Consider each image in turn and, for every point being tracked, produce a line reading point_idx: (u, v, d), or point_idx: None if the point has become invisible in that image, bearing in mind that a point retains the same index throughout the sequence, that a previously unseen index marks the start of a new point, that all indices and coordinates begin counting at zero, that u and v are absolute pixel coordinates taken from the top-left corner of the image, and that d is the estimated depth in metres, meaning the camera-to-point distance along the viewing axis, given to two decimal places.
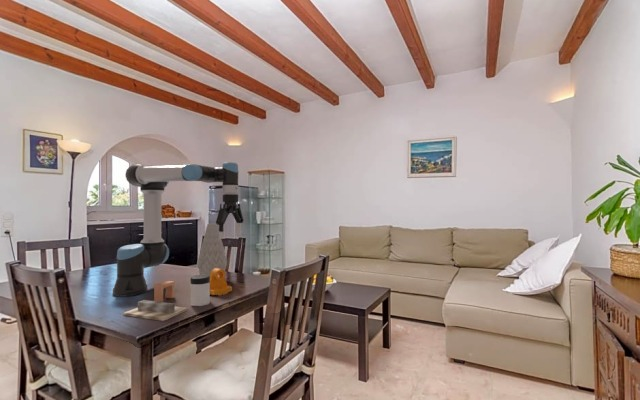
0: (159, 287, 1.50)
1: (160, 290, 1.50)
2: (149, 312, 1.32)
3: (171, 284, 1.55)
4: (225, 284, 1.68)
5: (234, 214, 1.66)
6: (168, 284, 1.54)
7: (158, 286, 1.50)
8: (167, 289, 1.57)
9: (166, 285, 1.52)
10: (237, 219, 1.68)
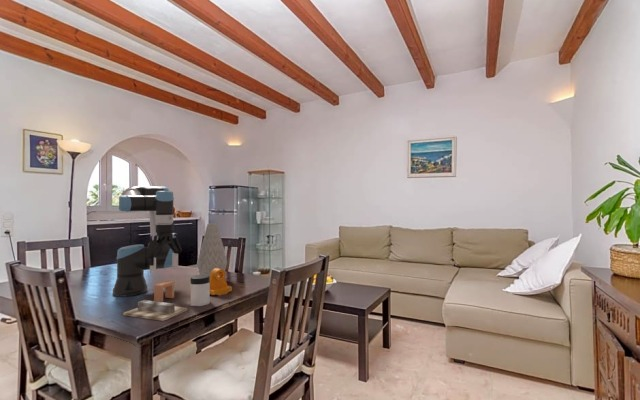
0: (159, 287, 1.50)
1: (160, 290, 1.50)
2: (149, 312, 1.32)
3: (171, 284, 1.55)
4: (225, 284, 1.68)
5: (170, 245, 1.57)
6: (168, 284, 1.54)
7: (158, 286, 1.50)
8: (167, 289, 1.57)
9: (166, 285, 1.52)
10: (174, 249, 1.59)
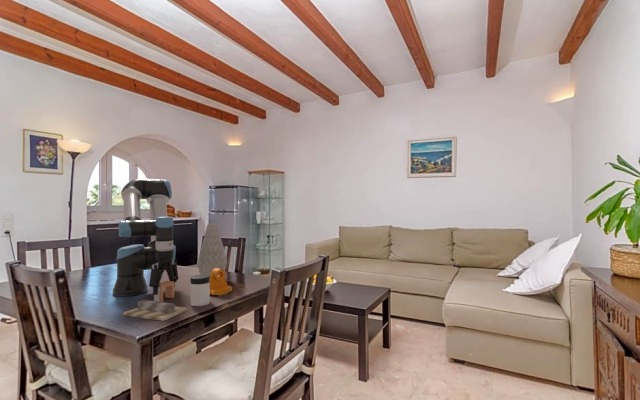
0: None
1: (160, 290, 1.50)
2: (149, 312, 1.32)
3: (171, 284, 1.55)
4: (225, 284, 1.68)
5: (168, 271, 1.56)
6: (168, 284, 1.54)
7: None
8: (167, 289, 1.57)
9: (166, 285, 1.52)
10: (171, 277, 1.57)
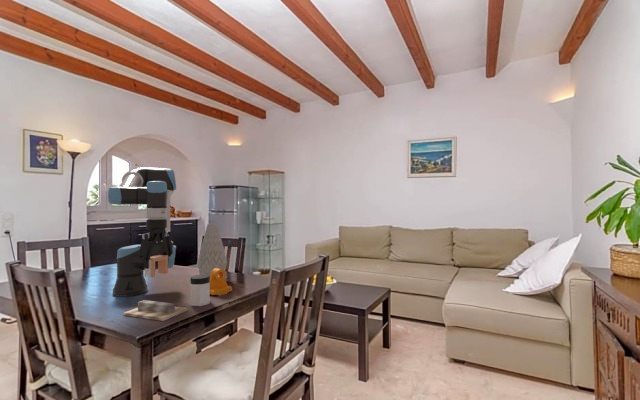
0: None
1: (152, 263, 1.31)
2: (149, 312, 1.32)
3: (164, 258, 1.37)
4: (225, 284, 1.68)
5: (161, 244, 1.38)
6: (161, 257, 1.35)
7: None
8: (160, 264, 1.38)
9: (158, 258, 1.34)
10: (164, 251, 1.39)
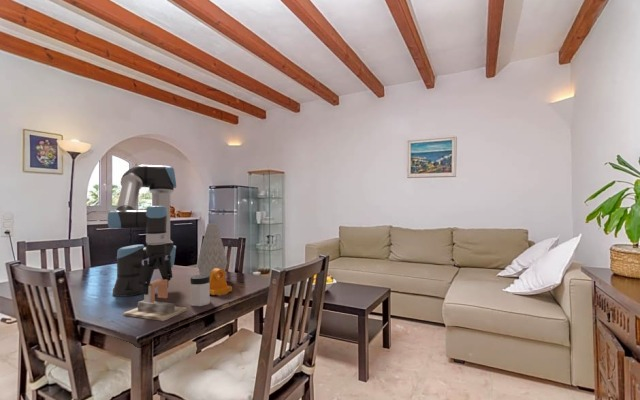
0: None
1: (151, 289, 1.31)
2: (149, 312, 1.32)
3: (164, 282, 1.37)
4: (225, 284, 1.68)
5: (160, 268, 1.38)
6: (160, 282, 1.35)
7: (149, 285, 1.31)
8: (159, 288, 1.38)
9: (158, 284, 1.34)
10: (163, 275, 1.39)
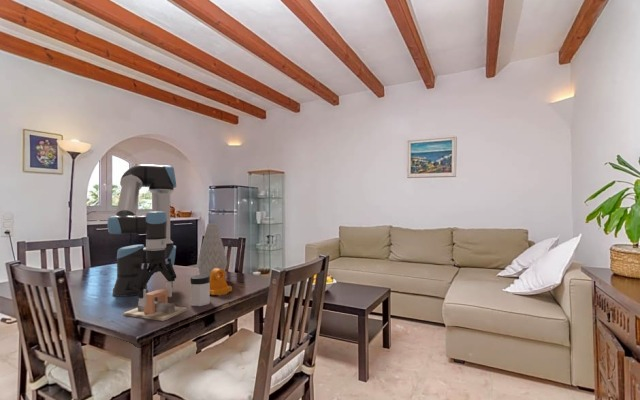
0: (150, 297, 1.31)
1: (151, 300, 1.31)
2: None
3: (164, 293, 1.37)
4: (225, 284, 1.68)
5: (162, 272, 1.39)
6: (160, 293, 1.35)
7: (149, 295, 1.31)
8: (159, 298, 1.38)
9: (158, 294, 1.34)
10: (167, 277, 1.41)
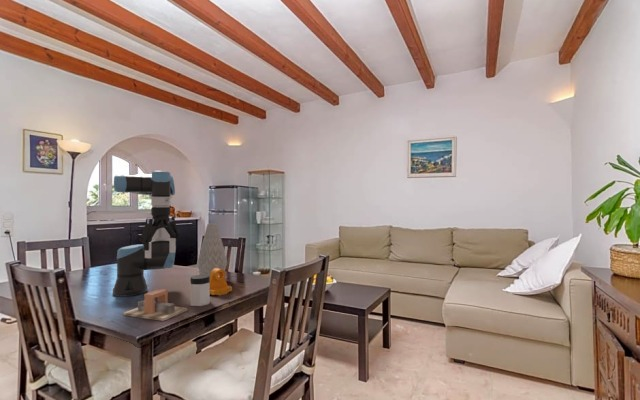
0: (150, 297, 1.31)
1: (151, 300, 1.31)
2: None
3: (164, 293, 1.37)
4: (225, 284, 1.68)
5: (167, 229, 1.47)
6: (160, 293, 1.35)
7: (149, 295, 1.31)
8: (159, 298, 1.38)
9: (158, 294, 1.34)
10: (171, 234, 1.49)
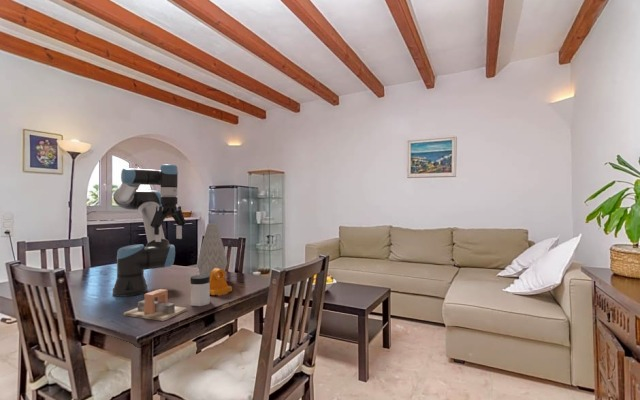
0: (150, 297, 1.31)
1: (151, 300, 1.31)
2: None
3: (164, 293, 1.37)
4: (225, 284, 1.68)
5: (174, 217, 1.64)
6: (160, 293, 1.35)
7: (149, 295, 1.31)
8: (159, 298, 1.38)
9: (158, 294, 1.34)
10: (178, 222, 1.66)
